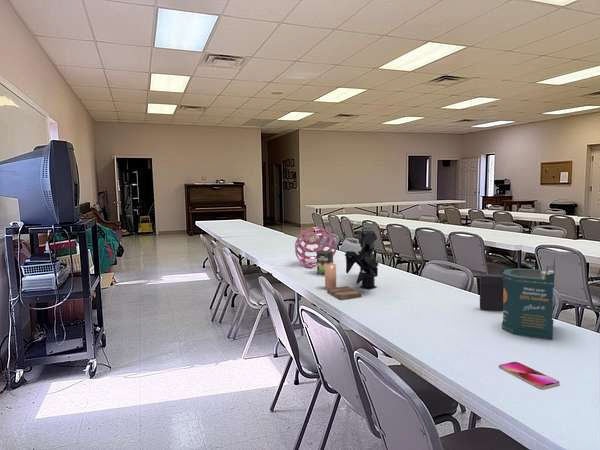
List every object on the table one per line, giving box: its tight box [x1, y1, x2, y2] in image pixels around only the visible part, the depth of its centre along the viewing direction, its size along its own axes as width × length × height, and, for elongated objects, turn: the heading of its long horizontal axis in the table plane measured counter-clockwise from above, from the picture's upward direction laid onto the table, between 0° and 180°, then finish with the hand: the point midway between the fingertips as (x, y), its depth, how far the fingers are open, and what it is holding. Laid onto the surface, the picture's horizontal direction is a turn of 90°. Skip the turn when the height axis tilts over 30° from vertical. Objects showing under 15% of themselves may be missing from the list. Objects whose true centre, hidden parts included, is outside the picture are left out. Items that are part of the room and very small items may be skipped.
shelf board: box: [326, 285, 362, 301], centre depth 206 cm, size 16×11×2 cm
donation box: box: [501, 252, 556, 341], centre depth 150 cm, size 16×16×28 cm
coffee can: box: [315, 250, 334, 277], centre depth 253 cm, size 10×10×14 cm
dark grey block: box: [479, 273, 504, 313], centre depth 174 cm, size 11×4×15 cm, turn 71°
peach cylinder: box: [324, 263, 338, 291], centre depth 218 cm, size 6×6×13 cm
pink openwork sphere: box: [294, 226, 338, 269], centre depth 277 cm, size 28×28×27 cm
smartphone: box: [498, 361, 561, 390], centre depth 117 cm, size 7×1×15 cm
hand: (352, 278), depth 203 cm, fingers open, 9 cm apart
